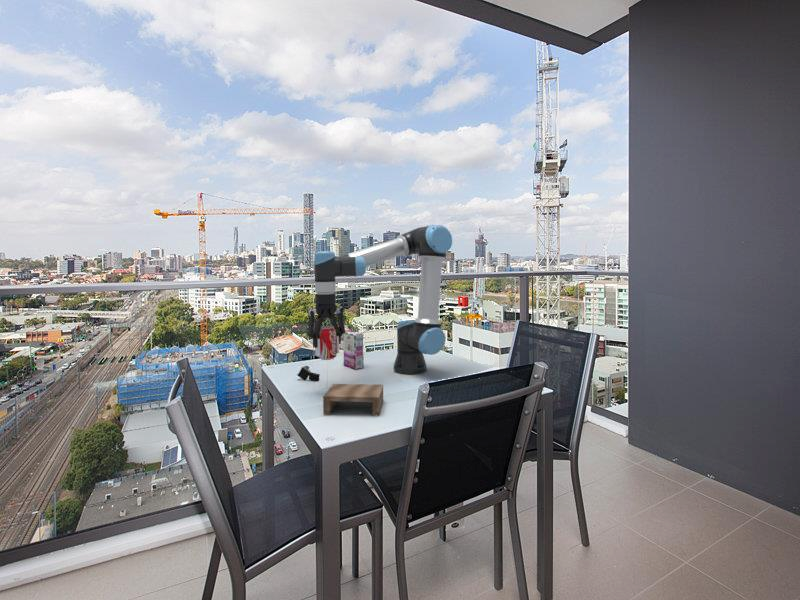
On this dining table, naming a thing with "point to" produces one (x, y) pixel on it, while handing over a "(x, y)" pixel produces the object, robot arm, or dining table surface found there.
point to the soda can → (327, 343)
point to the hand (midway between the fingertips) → (327, 354)
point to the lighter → (308, 374)
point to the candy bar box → (353, 350)
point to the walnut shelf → (353, 396)
